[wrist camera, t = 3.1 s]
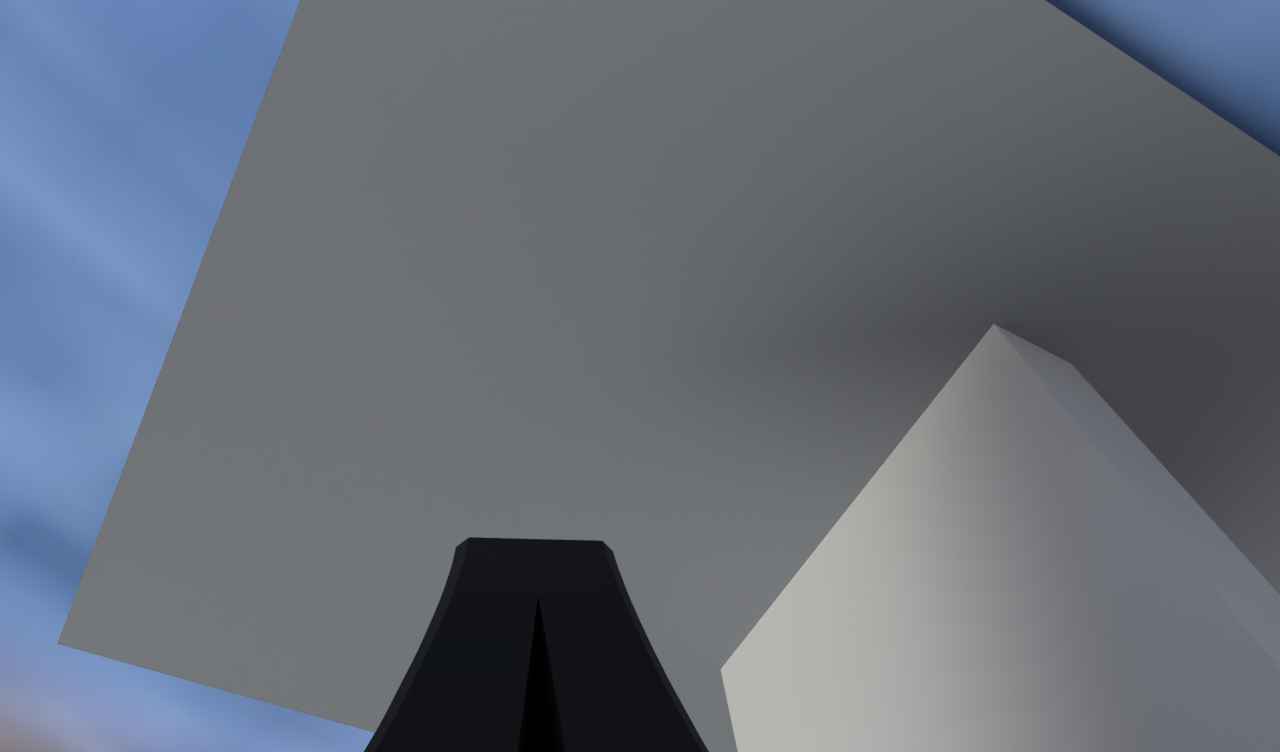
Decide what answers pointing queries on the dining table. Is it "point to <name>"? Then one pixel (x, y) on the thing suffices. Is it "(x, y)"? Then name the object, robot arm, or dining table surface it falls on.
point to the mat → (657, 313)
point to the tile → (1016, 593)
